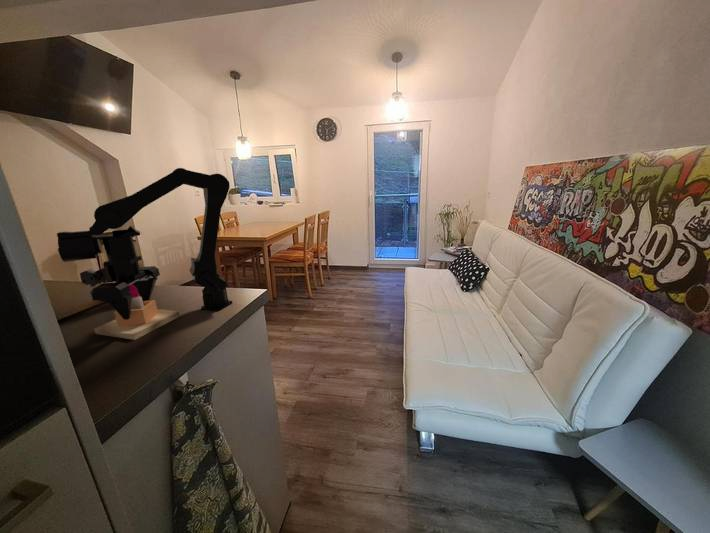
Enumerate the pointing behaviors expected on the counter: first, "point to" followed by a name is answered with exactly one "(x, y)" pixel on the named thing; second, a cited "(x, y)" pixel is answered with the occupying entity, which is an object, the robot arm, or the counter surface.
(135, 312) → the open square box
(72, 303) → the counter surface
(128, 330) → the duct base
